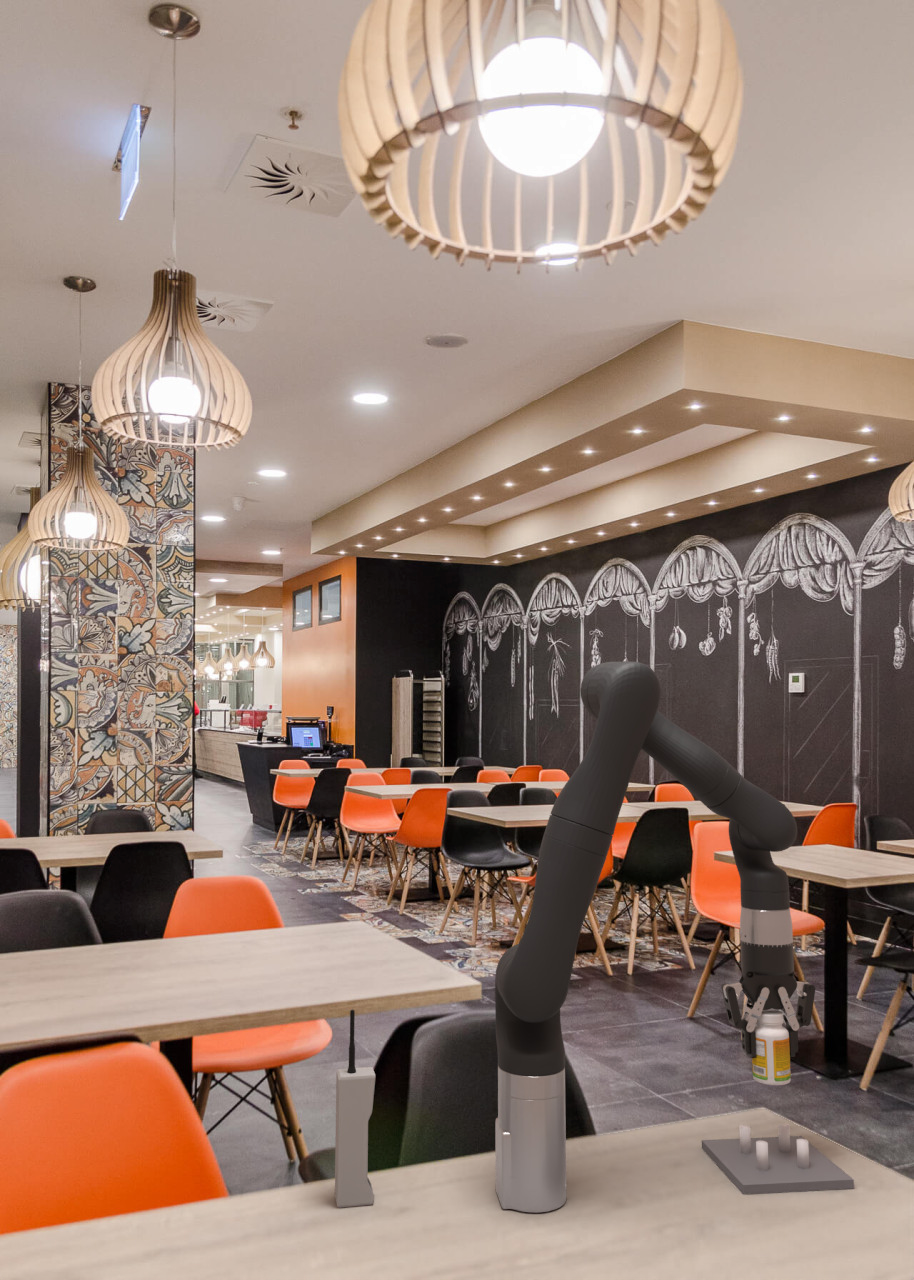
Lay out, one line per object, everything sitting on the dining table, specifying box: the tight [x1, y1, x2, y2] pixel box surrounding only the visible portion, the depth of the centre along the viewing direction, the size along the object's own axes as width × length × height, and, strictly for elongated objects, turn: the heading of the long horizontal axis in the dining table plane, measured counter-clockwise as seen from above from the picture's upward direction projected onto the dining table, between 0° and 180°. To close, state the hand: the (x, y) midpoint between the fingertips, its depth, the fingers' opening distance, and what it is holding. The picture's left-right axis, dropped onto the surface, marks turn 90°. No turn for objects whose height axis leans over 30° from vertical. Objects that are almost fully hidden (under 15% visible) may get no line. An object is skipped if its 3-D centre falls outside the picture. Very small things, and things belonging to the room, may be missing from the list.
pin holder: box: [701, 1122, 855, 1195], centre depth 146 cm, size 16×16×5 cm
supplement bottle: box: [751, 1009, 792, 1086], centre depth 147 cm, size 5×5×10 cm
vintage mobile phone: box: [334, 1009, 377, 1209], centre depth 136 cm, size 4×5×25 cm
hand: (770, 1055), depth 147 cm, fingers closed on supplement bottle, 5 cm apart
